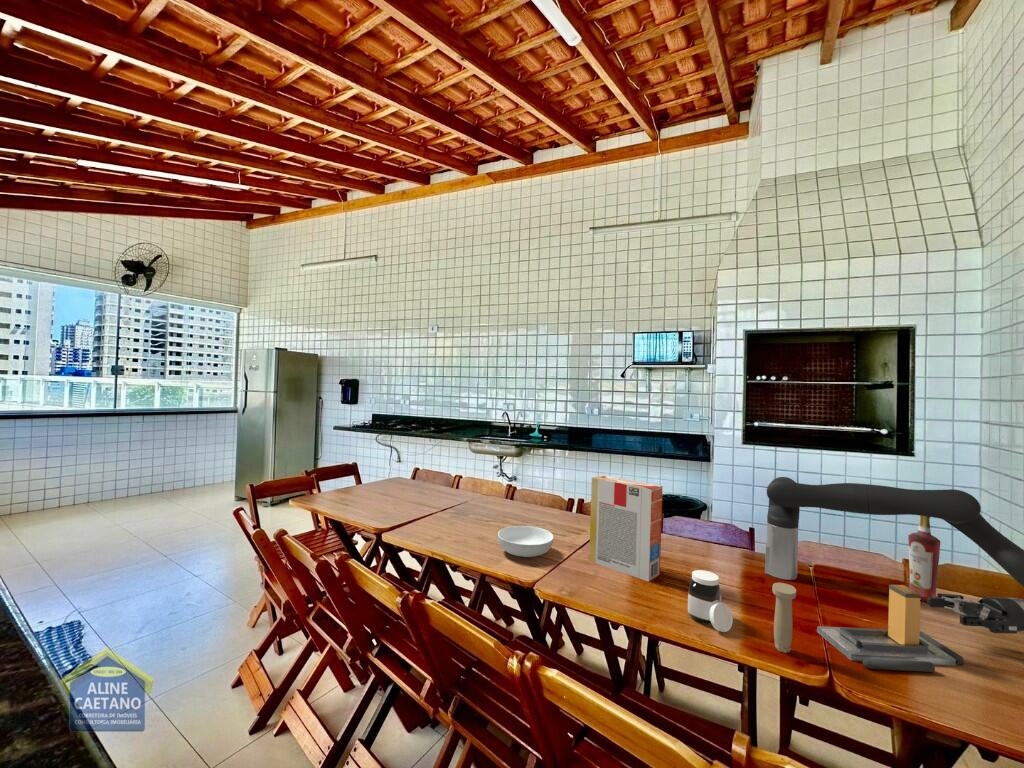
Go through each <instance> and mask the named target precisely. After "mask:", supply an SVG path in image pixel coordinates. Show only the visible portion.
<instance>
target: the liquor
mask: <svg viewBox="0 0 1024 768" xmlns="http://www.w3.org/2000/svg"><path fill="white" fill-rule="evenodd" d="M918 516H919V520H918V521H919V522H918V528H917V532H912V533H910V534H907V537H908V538H907V539H908V562H909V588H910V589H912V590H914V591H916V592H918V593H920V594H921V599H920V600H921V601H920V602H923V601H925V603H927V598H929V597H932V598H937V587H938V586H937V584H938V583H937V581H938V572H939V571H938V570H939V565H940V564H939V563H940V552H941V540H940V539H939V538H938V537H936V536H934V535H933V534H932V532H931V522H930V519H931V517H927V516H920V515H918Z"/></svg>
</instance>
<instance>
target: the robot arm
mask: <svg viewBox="0 0 1024 768" xmlns="http://www.w3.org/2000/svg"><path fill="white" fill-rule="evenodd" d="M766 496H767V499H768V511H767V515H766V517H767V518H766V519H767V520H766V545H765V553H764V554H765V557H764V559H765V560H764V562H765V563H764V574H766V575H769V576H771V577H774V578H777V579H780V580H788V581H793V580H797V578H798V557H799V556H798V555H799V554H798V553H799V552H798V551H799V522H800V521H799V520H800V509H801V508H817V509H825V510H829V511H838V512H843V513H845V512H846V513H853V514H860V515H861V514H863V515H872V516H905V515H906V516H907V515H912V516H919V515H920V516H927V517H930V518H935V519H940V520H942V521H944V522H946V523H947V524H949V525H950V526H952V527H953V528H954V529H956V530H958V531H959V532H961V533H962V534H963V535H964V536H965V537H967V538H968V539H970V541H972V542H974V543H975V544H976V545H977V546H978V547H979V548H980V549H981V550H983V552H985V553H986V554H987V555H988V556H989V557H990V558H991V559H992V560H993V561H994V562H996V563H997V565H999V566H1000V567H1001V568H1002V569H1003V570H1004V571H1005V572H1006V573H1007V574H1009V576H1011V577H1012V578H1013V580H1015V581H1016V582H1017V583H1018V584H1019V585H1020V586H1022V587H1023V588H1024V549H1023V548H1022V547H1020V545H1017V544H1016V543H1015V542H1013V541H1012V540H1010V539H1009V538H1008V537H1006V536H1005V535H1003V534H1002V533H1001V532H1000V531H999V530H997V529H996V528H995V527H994V526H993V525H991V524H990V522H988V521H987V520H986V519H985V518H984V516H983V515H982V514H981V511H982V507H981V503H980V502H979V500H978V499H977V498H976V497H975V496H973V495H972V494H970V493H968V492H966V491H963V490H961V489H960V490H959V489H954V488H953V489H913V488H910V489H909V488H902V487H894V486H887V485H879V484H868V483H858V482H857V483H856V482H855V483H854V482H840V483H837V482H836V483H828V484H827V483H825V484H809V483H808V484H807V483H801V482H796V480H794V479H793V478H790V477H787V476H778V477H776V478H774V479H772V480H771V482H770V483H769V484H768V486H767V488H766ZM920 516H919V517H920ZM936 596H937V598H932V597H929V598H927V602H926V605H927V606H928V607H930V608H940V609H941V608H942V609H948V610H951V611H953V612H954V613H956V614H960V616H959V624H961V625H963V626H965V627H979V628H980V629H983V630H986V629H988V631H989V632H990V633H993V634H1008V635H1009V634H1011V635H1012V634H1013V635H1014V634H1016V635H1017V634H1018V633H1024V599H1021V598H1016V597H1001V596H1000V597H997V596H984V597H982V598H980V599H979V600H978V601H976V600H967V599H964V596H963V595H961V594H950V593H942V592H941V593H939V592H938V593H937V592H936ZM959 607H961V609H959Z"/></svg>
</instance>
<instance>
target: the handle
mask: <svg viewBox="0 0 1024 768" xmlns="http://www.w3.org/2000/svg"><path fill="white" fill-rule="evenodd" d="M771 589H772V590H771V591H772V593H773V595H774V596H775V608H774V618H773V619H774V620H773V639H774V647H775V649H776V650H777V651H778V652H782V653H784V654H787V653H790V652H791V650H792V646H791V645H792V643H793V642H792V641H793V631H794V630H793V627H794V626H793V606H792V605H793V603H792V602H793V600H794V599H796V597H797V589H796V588H795V586H793V585H791V584H788V583H784V582H774V583H773V584H772V588H771Z"/></svg>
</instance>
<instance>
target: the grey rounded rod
mask: <svg viewBox="0 0 1024 768" xmlns="http://www.w3.org/2000/svg"><path fill="white" fill-rule="evenodd" d="M862 665H863V666H864V667H865V668H867V669H869V670H885V671H886V670H887V671H905V672H923V673H924V672H925V673H926V672H927V673H934V672H935V671H936V667H935V665H933V664H932V663H931V662H926V661H906V660H885V659H864V660H863V661H862Z"/></svg>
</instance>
